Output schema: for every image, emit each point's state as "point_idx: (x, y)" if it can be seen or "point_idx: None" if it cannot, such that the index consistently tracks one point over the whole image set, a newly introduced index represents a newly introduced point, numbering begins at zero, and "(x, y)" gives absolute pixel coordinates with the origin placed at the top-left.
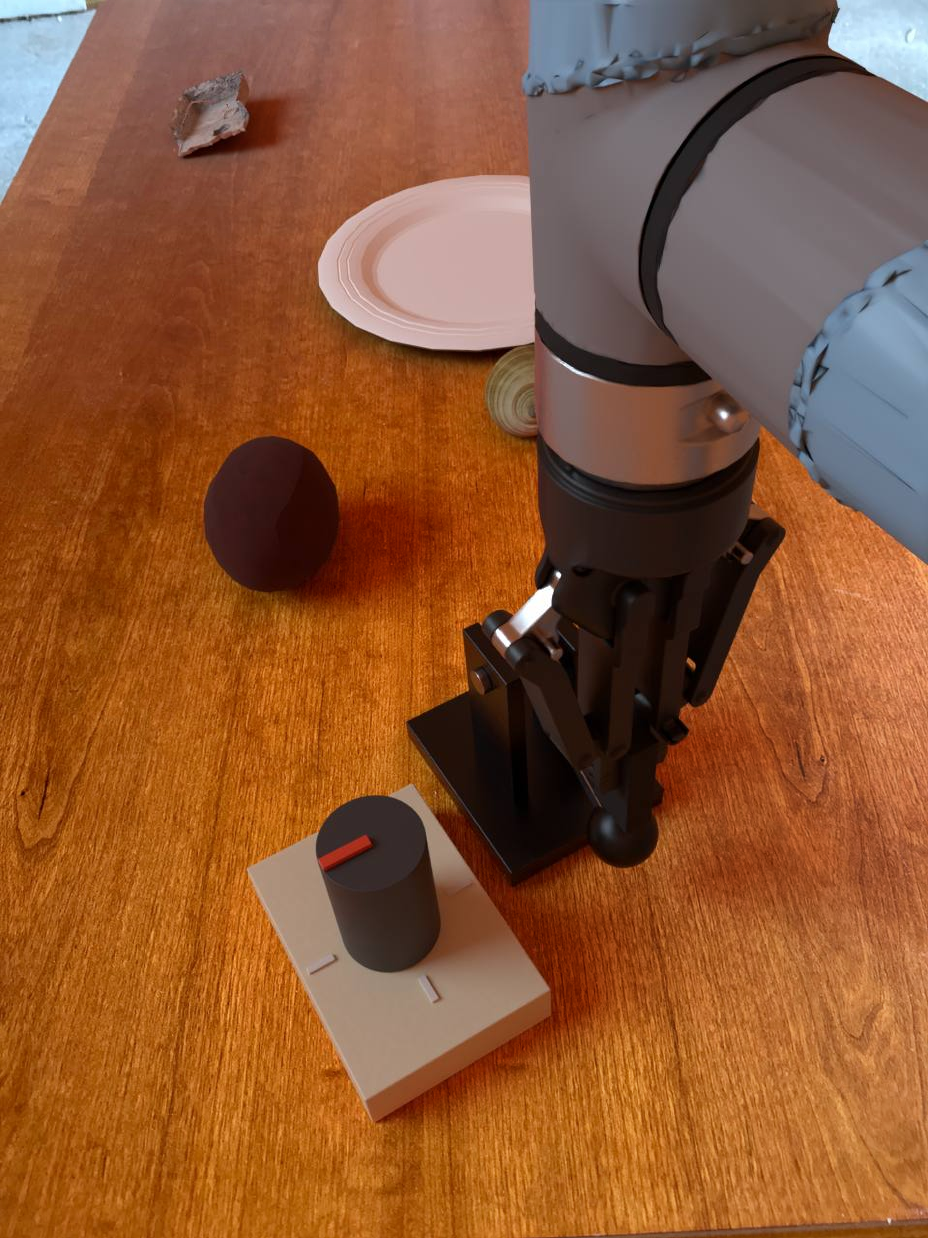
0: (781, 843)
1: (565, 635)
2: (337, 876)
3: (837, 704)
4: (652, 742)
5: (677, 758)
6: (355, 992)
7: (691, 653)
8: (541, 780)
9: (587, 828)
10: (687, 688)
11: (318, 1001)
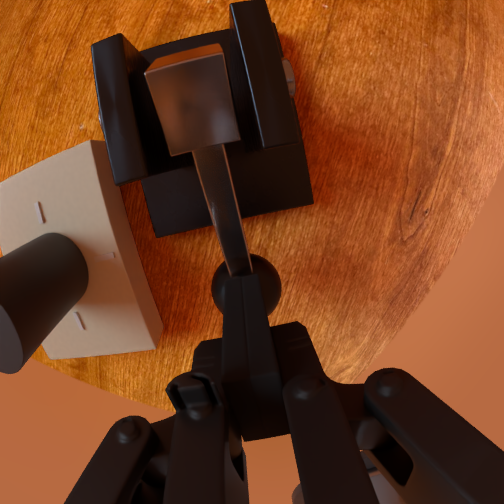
0: (368, 263)
1: (260, 108)
2: None
3: (455, 175)
4: (282, 434)
5: (339, 164)
6: None
7: (411, 485)
8: None
9: (213, 281)
10: (372, 448)
11: None
